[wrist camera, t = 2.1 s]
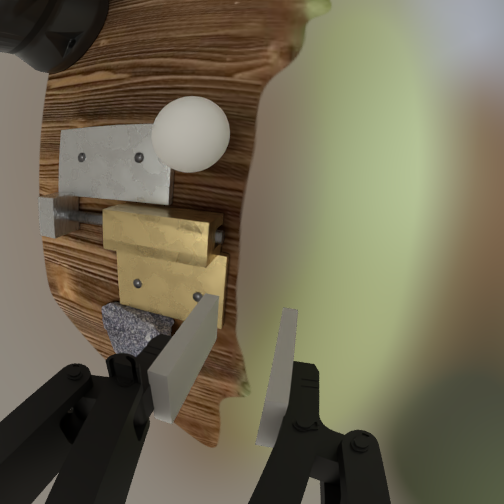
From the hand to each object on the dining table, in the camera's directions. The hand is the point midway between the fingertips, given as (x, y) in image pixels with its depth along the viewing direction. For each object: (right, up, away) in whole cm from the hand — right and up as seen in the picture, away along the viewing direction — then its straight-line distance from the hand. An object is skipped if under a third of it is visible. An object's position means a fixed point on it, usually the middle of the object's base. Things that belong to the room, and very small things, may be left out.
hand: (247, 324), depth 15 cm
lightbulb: (-3, +15, +14) cm, 21 cm away
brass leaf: (-9, +2, +19) cm, 21 cm away
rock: (-15, -8, +23) cm, 29 cm away
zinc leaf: (-14, +12, +17) cm, 25 cm away
